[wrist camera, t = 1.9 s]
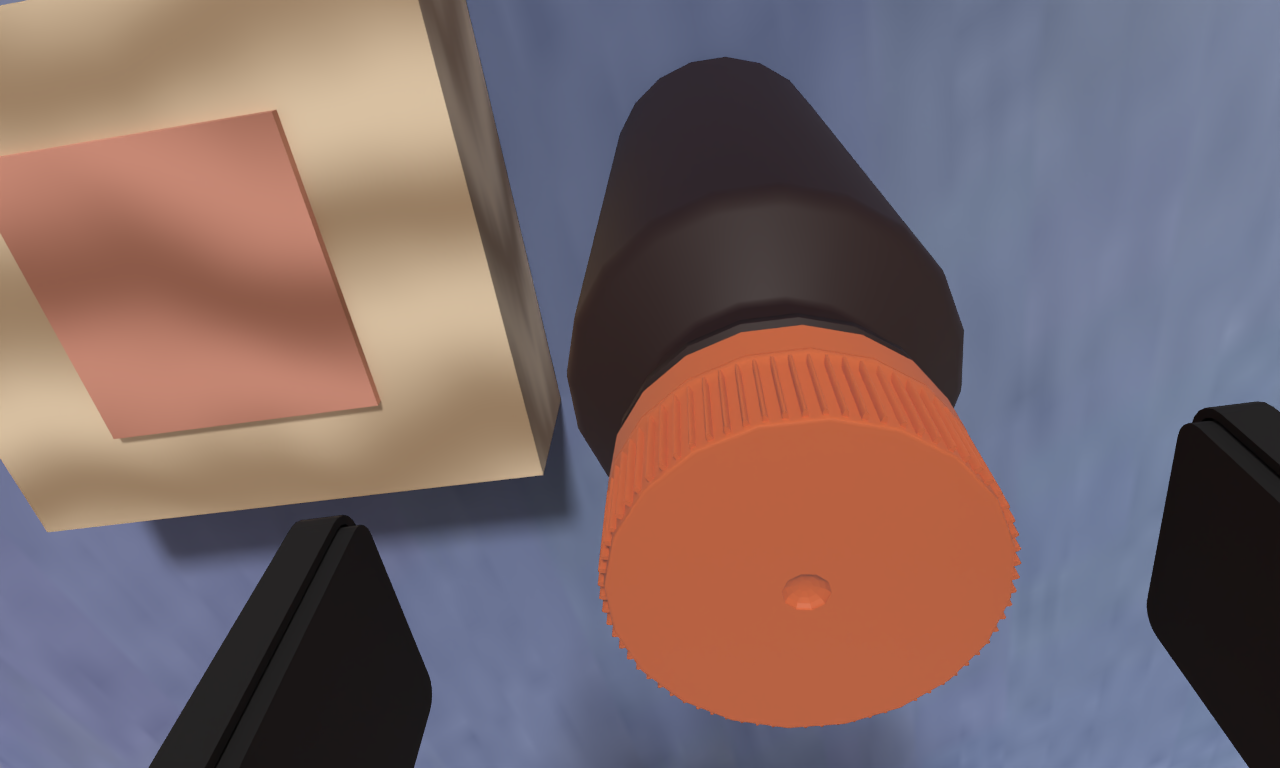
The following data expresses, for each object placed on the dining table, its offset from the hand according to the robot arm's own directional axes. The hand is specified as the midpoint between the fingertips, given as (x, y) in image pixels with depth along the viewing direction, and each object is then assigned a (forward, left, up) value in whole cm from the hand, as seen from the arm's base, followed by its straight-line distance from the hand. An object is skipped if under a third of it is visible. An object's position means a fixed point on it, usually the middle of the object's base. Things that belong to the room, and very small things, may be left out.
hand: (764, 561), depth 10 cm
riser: (0, +16, -20) cm, 25 cm away
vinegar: (0, 0, -20) cm, 20 cm away
